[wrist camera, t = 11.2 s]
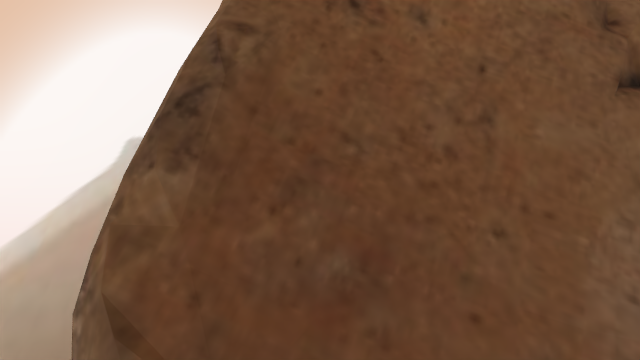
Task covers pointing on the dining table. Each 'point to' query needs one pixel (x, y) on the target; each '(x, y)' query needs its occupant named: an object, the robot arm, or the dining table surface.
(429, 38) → the brown tall rough part
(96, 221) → the dining table surface
